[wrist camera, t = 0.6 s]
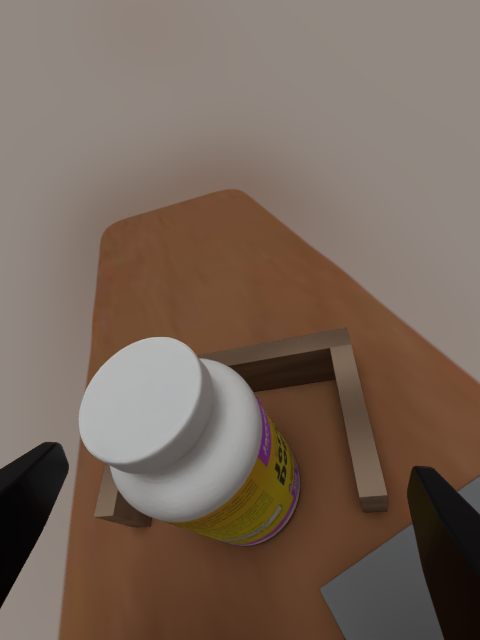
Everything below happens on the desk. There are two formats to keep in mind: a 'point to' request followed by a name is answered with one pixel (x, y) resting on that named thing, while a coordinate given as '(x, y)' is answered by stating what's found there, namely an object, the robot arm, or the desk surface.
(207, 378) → the supplement bottle
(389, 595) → the charcoal mat
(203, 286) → the desk surface
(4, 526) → the robot arm
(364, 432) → the frame
